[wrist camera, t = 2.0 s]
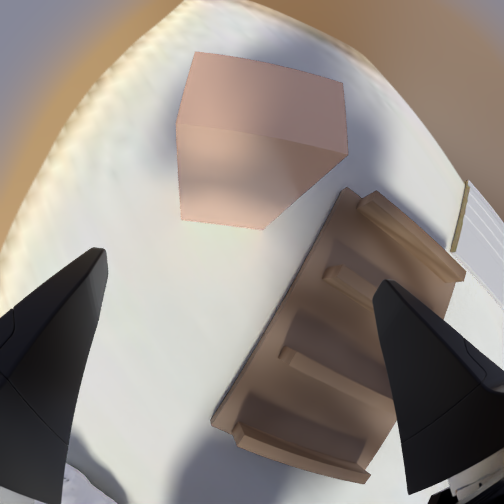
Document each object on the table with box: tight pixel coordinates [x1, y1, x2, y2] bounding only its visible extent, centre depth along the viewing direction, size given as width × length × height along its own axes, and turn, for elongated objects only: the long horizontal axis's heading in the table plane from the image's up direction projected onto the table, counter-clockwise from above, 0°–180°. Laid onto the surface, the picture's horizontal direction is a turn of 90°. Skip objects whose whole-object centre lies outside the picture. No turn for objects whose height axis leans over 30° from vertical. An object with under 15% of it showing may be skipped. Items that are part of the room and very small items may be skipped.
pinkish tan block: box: [176, 52, 348, 230], centre depth 16 cm, size 4×6×13 cm, turn 85°
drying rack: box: [210, 187, 466, 484], centre depth 21 cm, size 21×15×4 cm
